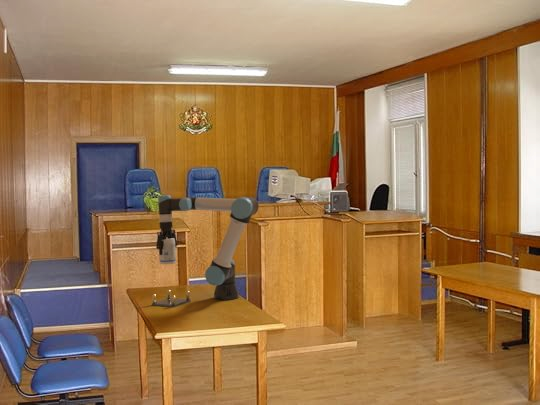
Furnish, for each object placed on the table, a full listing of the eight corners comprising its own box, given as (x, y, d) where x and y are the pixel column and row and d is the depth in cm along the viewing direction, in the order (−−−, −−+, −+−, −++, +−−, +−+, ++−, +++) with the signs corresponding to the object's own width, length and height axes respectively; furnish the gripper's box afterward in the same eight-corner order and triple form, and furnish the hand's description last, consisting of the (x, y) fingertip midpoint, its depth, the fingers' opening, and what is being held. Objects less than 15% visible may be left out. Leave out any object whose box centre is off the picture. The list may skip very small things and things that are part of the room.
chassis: (190, 301, 361) (190, 291, 361) (174, 307, 347) (173, 296, 347) (168, 299, 368) (168, 289, 368) (151, 305, 354) (151, 294, 354)
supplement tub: (157, 264, 359) (155, 239, 358) (163, 262, 368) (161, 238, 367) (173, 264, 357) (171, 239, 356) (178, 262, 366) (177, 237, 366)
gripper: (172, 219, 373) (174, 256, 374) (148, 223, 354) (150, 261, 355) (182, 219, 369) (184, 256, 370) (158, 223, 350) (160, 261, 351)
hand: (167, 259), depth 362 cm, fingers closed on supplement tub, 9 cm apart
